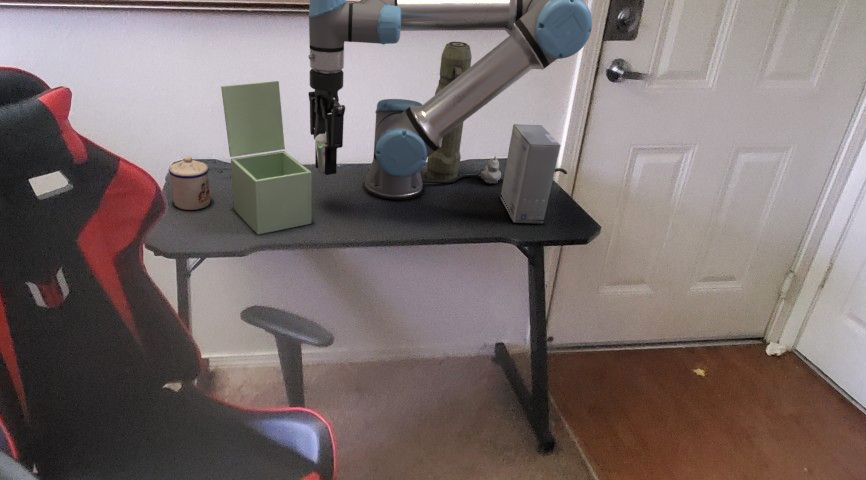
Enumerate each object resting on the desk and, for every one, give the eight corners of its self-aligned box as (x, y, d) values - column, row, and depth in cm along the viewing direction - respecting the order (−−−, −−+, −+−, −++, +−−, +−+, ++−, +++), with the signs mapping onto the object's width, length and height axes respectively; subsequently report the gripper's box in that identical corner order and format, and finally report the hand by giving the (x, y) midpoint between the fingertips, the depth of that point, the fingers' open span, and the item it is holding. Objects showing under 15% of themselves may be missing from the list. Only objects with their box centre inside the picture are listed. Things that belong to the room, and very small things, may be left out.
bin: (311, 223, 156) (311, 172, 149) (257, 234, 150) (255, 181, 143) (285, 200, 167) (284, 150, 159) (233, 209, 160) (230, 158, 153)
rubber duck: (484, 187, 180) (489, 159, 176) (476, 178, 186) (480, 150, 181) (503, 186, 181) (508, 158, 177) (494, 177, 187) (499, 149, 182)
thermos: (451, 168, 191) (468, 38, 171) (463, 184, 181) (482, 49, 161) (421, 169, 189) (435, 38, 169) (431, 185, 180) (447, 48, 160)
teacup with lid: (207, 212, 159) (202, 165, 152) (168, 210, 158) (162, 163, 152) (217, 192, 168) (213, 147, 162) (181, 190, 168) (175, 145, 162)
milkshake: (338, 169, 161) (338, 127, 156) (330, 176, 157) (330, 134, 151) (321, 166, 162) (320, 125, 157) (312, 173, 158) (312, 131, 153)
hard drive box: (543, 224, 163) (561, 145, 152) (513, 224, 162) (528, 144, 151) (527, 198, 176) (542, 123, 164) (498, 198, 175) (512, 122, 164)
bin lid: (278, 81, 152) (277, 80, 153) (222, 86, 146) (220, 86, 147) (284, 149, 159) (283, 148, 159) (230, 157, 153) (229, 156, 153)
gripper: (294, 61, 151) (296, 160, 164) (330, 80, 139) (328, 185, 152) (323, 58, 154) (323, 156, 167) (361, 77, 142) (357, 180, 155)
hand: (325, 170), depth 159 cm, fingers closed on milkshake, 4 cm apart
